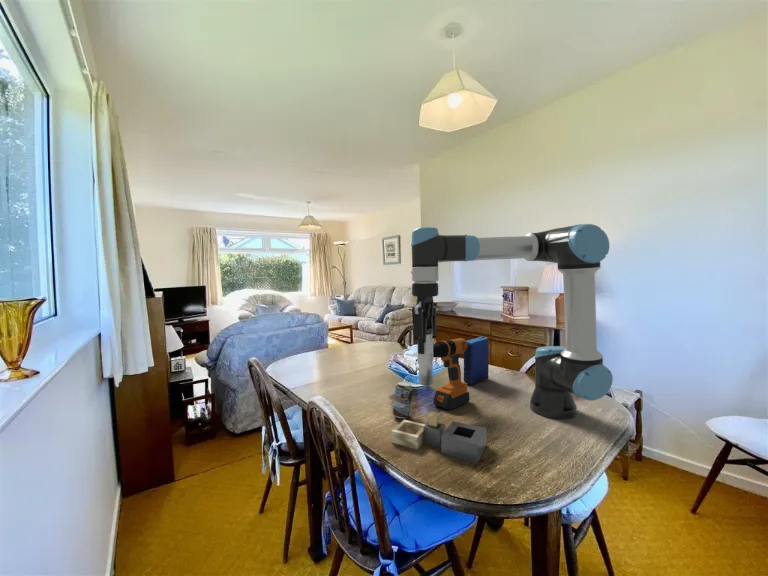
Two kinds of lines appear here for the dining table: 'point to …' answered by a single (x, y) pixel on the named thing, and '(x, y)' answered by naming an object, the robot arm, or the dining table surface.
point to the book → (476, 360)
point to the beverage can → (402, 400)
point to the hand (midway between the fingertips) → (425, 362)
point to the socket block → (457, 440)
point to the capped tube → (427, 370)
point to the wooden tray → (408, 434)
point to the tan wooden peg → (434, 419)
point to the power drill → (451, 374)
